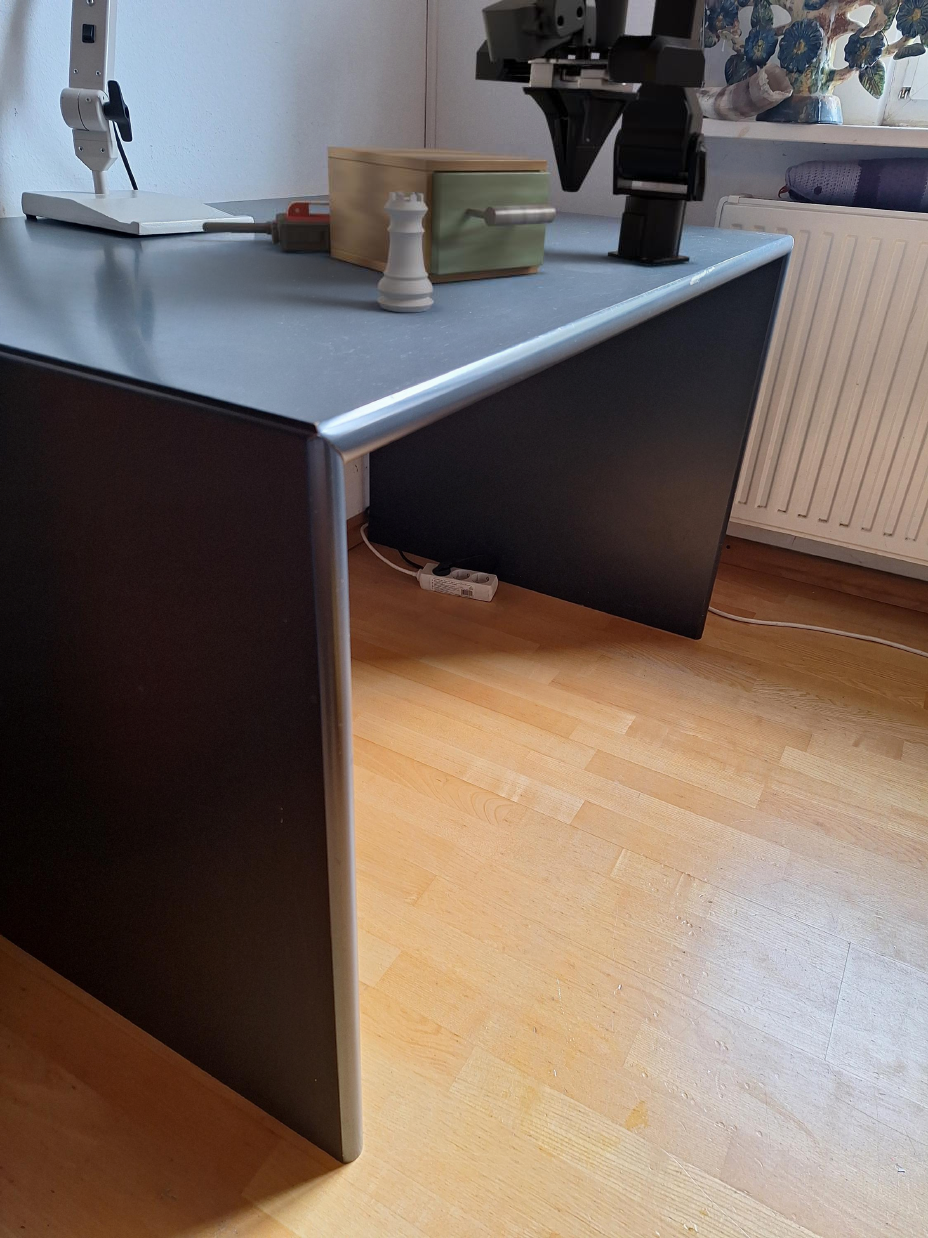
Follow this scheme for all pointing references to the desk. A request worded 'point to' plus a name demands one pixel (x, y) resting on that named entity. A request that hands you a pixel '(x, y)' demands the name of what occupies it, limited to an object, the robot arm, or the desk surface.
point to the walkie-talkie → (288, 228)
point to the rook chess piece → (405, 257)
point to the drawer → (488, 220)
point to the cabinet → (377, 171)
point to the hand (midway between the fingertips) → (570, 191)
